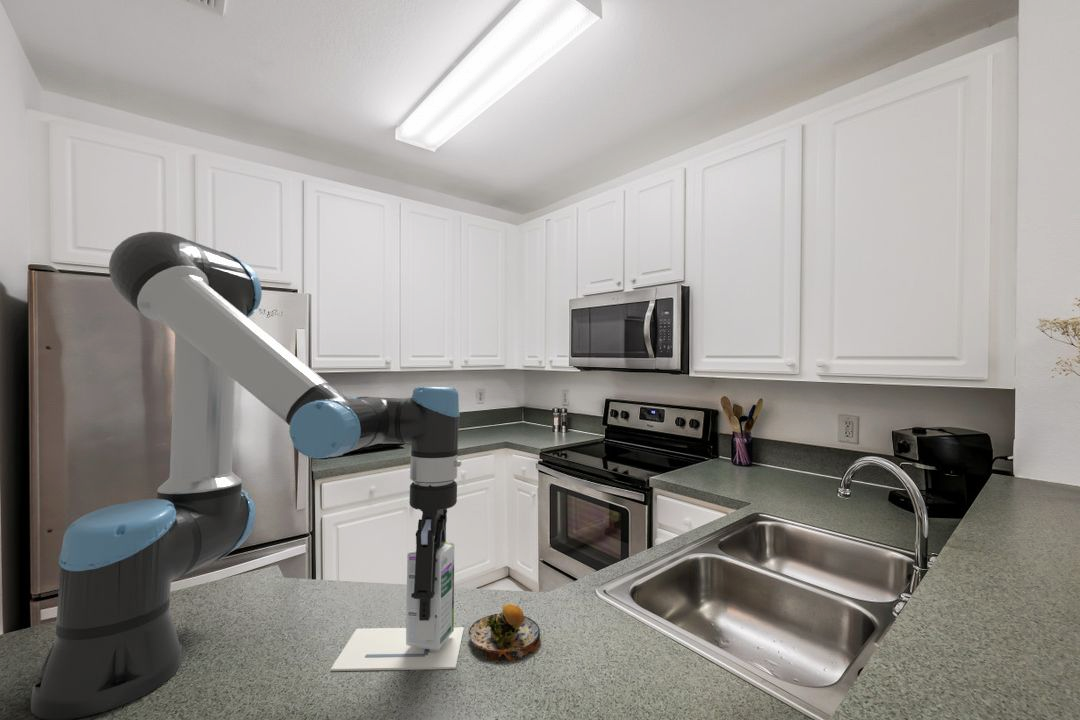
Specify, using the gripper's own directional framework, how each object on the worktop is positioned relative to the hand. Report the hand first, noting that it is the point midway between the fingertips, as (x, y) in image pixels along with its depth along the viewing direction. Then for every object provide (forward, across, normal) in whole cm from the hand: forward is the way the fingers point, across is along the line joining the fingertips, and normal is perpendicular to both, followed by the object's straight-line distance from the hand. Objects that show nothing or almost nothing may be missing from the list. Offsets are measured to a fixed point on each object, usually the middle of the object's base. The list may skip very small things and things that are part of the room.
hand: (429, 625), depth 74 cm
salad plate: (+3, +1, -12) cm, 13 cm away
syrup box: (+2, 0, 0) cm, 2 cm away
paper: (+3, -1, +4) cm, 5 cm away
